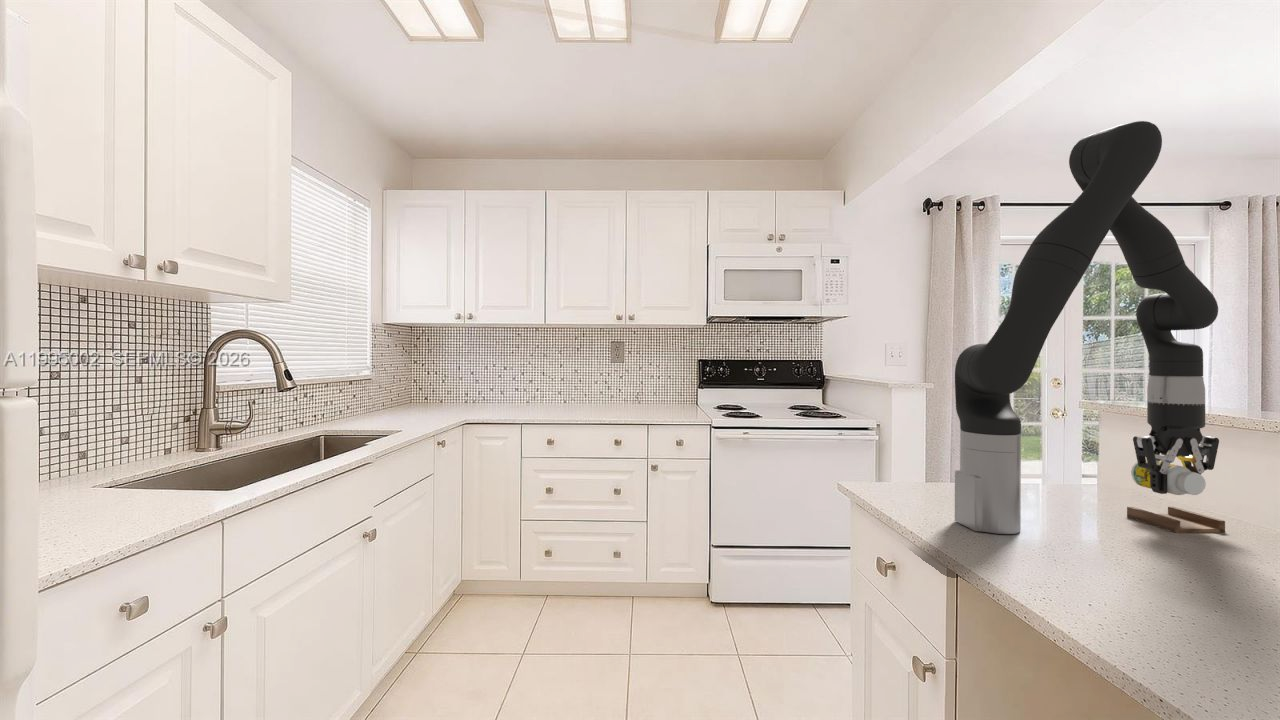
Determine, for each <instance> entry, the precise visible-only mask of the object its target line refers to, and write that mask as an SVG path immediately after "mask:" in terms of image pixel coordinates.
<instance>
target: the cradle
mask: <svg viewBox="0 0 1280 720" xmlns="http://www.w3.org/2000/svg"><path fill="white" fill-rule="evenodd" d="M1126 518H1129V519H1132V520H1135V521H1139V522H1141V523H1144V524H1147V525H1151V526H1154V527H1156V528H1161V529H1163V530H1166V531H1168V532H1171V533H1226V520H1224V519H1219V518H1215V517H1212V516H1208V515H1205V514H1201V513H1197V512H1195V511H1191V510H1186V509H1184V508H1180V507H1176V506H1167V513H1155V512H1151V511H1148V510H1144V509H1141V508H1137V507H1134V506H1126Z"/></svg>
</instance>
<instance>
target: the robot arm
mask: <svg viewBox="0 0 1280 720" xmlns="http://www.w3.org/2000/svg"><path fill="white" fill-rule="evenodd" d="M1162 137H1163V136H1162V133H1161V130H1160V129H1159V127H1158V126H1157V125H1156V124H1155V123H1152V122H1150V121H1147V120H1138V121H1137V120H1136V121H1131V122H1127V123H1126V122H1125V123H1122V124H1119V125H1115V126H1113V127H1111V128H1110V127H1109V128H1106V129H1103V130H1101V131H1098V132H1095V133H1091V134H1090V135H1087V136H1085V137H1083V138H1081V139H1080V140H1078V142H1076V143H1075V145H1074V146H1073V147H1072V149H1071V151H1070V154H1069V159H1068V167H1069V170H1070V172H1071V174H1072V177H1073V179H1074V180H1075V182H1076V184H1077V186H1079V188H1080V190H1081V191H1082V192H1081V194H1080V195H1079V196H1077V198H1076V199H1075V200H1074V201H1072V203H1071V204H1070V205H1069V206H1068V207H1067V208H1065V209H1064V210H1063V211H1062V212H1061V213H1059V214H1058V215H1057V216H1056V217H1055V218H1054V219H1053V220H1051V221H1050V222H1049V224H1047V225H1046V226H1045V227H1044V228H1043V229H1042V230H1041V231H1040V232H1039V233H1038V234H1037V236H1036V237H1035V238H1034V239H1033V241H1032V242H1031V243H1030V245H1029V247H1028V249H1027V250H1026V252H1025V254H1024V256H1023V258H1022V259H1021V262H1020V263H1019V264H1018V267H1017V269H1016V272H1015V274H1014V278H1013V283H1012V287H1011V288H1012V290H1011V298H1010V303H1009V307H1008V310H1007V312H1006V314H1005V317H1004V318H1003V320H1002V321H1001V323H1000V324H999V326H998V328H997V330H996V331H995V332H994V334H993V335H992V337H991V338H990V339H989V341H988V342H987V343H978V344H973V345H970V346H968V347H966V348H965V349H964V350H963V351H962V352H960V354H959V355H958V357H957V360H956V362H955V369H954V391H955V392H954V393H955V395H954V397H955V411H956V413H957V417H958V419H959V420H958V421H959V426H960V428H959V433H960V434H959V435H960V436H959V438H960V439H959V469H958V470H957V469H956V470H955V472H954V522H956V523H957V524H960V525H962V526H964V527H967V528H968V529H970V530H972V531H974V532H982V533H983V532H984V533H989V534H999V535H1014V534H1018V533H1020V532H1021V527H1022V525H1021V523H1022V522H1021V521H1022V517H1021V516H1022V515H1021V510H1022V508H1021V507H1022V506H1021V505H1022V503H1021V502H1022V501H1021V500H1022V498H1021V497H1022V493H1021V492H1022V491H1021V490H1022V488H1021V487H1022V483H1021V481H1022V479H1021V478H1022V474H1021V473H1022V462H1021V461H1022V459H1021V458H1022V457H1021V456H1022V453H1021V452H1022V421H1021V418H1020V417H1019V416H1018V415H1017V413H1015V411H1014V409H1013V407H1012V405H1011V399H1010V397H1011V396H1010V394H1013V393H1015V392H1017V391H1019V390H1020V389H1021V388H1022V387H1023V386H1024V385H1025V384H1026V383H1027V381H1028V379H1030V377H1031V375H1032V372H1033V371H1034V368H1035V366H1036V363H1037V361H1038V359H1039V357H1040V356H1039V355H1041V351H1042V350H1043V347H1044V345H1045V342H1046V341H1047V338H1048V335H1049V334H1050V331H1051V329H1052V328H1053V327H1054V324H1055V323H1056V321H1057V319H1058V318H1059V317H1060V314H1061V313H1062V311H1063V309H1064V308H1065V306H1066V304H1067V303H1068V301H1069V300H1070V298H1071V295H1072V294H1073V292H1074V291H1075V289H1076V287H1078V285H1079V283H1080V282H1081V280H1082V278H1083V276H1084V274H1085V273H1086V271H1087V270H1088V268H1089V266H1090V264H1091V263H1092V261H1093V259H1094V258H1095V257H1094V256H1095V255H1096V253H1097V251H1098V249H1099V247H1101V244H1102V243H1103V241H1104V239H1106V236H1107V235H1108V233H1109V232H1111V234H1112V235H1113V238H1114V239H1115V242H1116V243H1117V244H1118V246H1119V248H1120V250H1121V253H1122V255H1123V257H1124V259H1125V262H1126V265H1127V266H1128V269H1129V272H1130V273H1131V276H1132V278H1133V280H1134V282H1135V284H1136V285H1137V286H1138V287H1140V288H1143V289H1148V290H1157V291H1161V293H1155V294H1150V295H1147V296H1145V297H1144V298H1142V300H1141V301H1140V302H1139V303H1138V305H1137V307H1136V308H1137V309H1136V312H1135V315H1136V321H1137V324H1138V327H1139V329H1140V332H1141V334H1142V337H1143V338H1142V339H1143V340H1144V344H1145V346H1146V349H1147V352H1148V361H1149V362H1148V363H1149V364H1148V365H1149V367H1148V369H1149V371H1148V375H1149V376H1148V383H1147V389H1146V390H1147V391H1146V392H1147V395H1146V396H1147V400H1146V402H1147V408H1146V410H1147V414H1146V415H1147V417H1146V418H1147V420H1146V421H1147V424H1148V425H1149V426H1150V428H1151V430H1150V432H1149V434H1148V435H1145V436H1138V435H1135V436H1133V438H1132V441H1133V446H1134V450H1135V451H1134V452H1135V456H1136V462H1138V466H1139V467H1141V468H1145V469H1147V470H1149V471H1150V487H1151V491H1152V492H1154V493H1157V494H1159V495H1160V494H1161V495H1167V494H1168V493H1167V474H1165V473H1166V472H1167V470H1168V467H1169V465H1170V464H1172V463H1174V462H1175V460H1176V458H1177V459H1178V460H1179V461H1181V464H1182V466H1183V467H1185V468H1187V469H1189V470H1190V471H1191V472H1195V473H1198V474H1200V475H1202V474H1203V473H1204V472H1205V471H1207V470H1209V471H1212V470H1214V468H1215V464H1216V459H1217V454H1218V448H1219V444H1220V439H1219V438H1218V437H1213V436H1204V435H1203V434H1202V432H1201V429H1203V428H1205V427H1206V387H1205V381H1204V352H1203V349H1202V347H1201V346H1199V345H1197V344H1194V343H1188V342H1181V341H1178V340H1176V338H1175V337H1174V335H1173V333H1172V331H1187V330H1189V331H1190V330H1202V329H1205V328H1208V327H1209V326H1211V325H1213V323H1214V322H1215V321H1216V319H1217V318H1218V315H1219V305H1218V301H1217V299H1216V298H1215V296H1214V295H1213V293H1212V292H1211V291H1210V289H1209V288H1207V286H1206V285H1205V284H1204V283H1203V282H1202V281H1201V279H1200V278H1198V277H1197V276H1196V275H1195V273H1194V272H1193V271H1192V270H1191V269H1190V268H1189V267H1188V266H1187V263H1186V261H1185V259H1184V257H1183V254H1182V251H1181V249H1180V247H1179V244H1178V243H1177V240H1176V238H1175V236H1174V234H1173V233H1172V232H1171V230H1170V229H1169V228H1168V227H1167V226H1166V225H1165V224H1164V223H1163V222H1162V221H1161V220H1159V218H1157V217H1155V216H1154V215H1153V214H1152V213H1150V212H1149V211H1148V210H1147V209H1145V208H1144V207H1143V206H1142V205H1141V204H1140V203H1139V202H1138V201H1137V200H1136V199H1135V198H1134V197H1133V195H1134V194H1135V193H1136V191H1137V190H1138V189H1139V187H1140V186H1141V184H1142V183H1143V182H1144V181H1145V179H1146V178H1147V177H1148V175H1149V174H1150V172H1151V170H1152V169H1153V168H1154V166H1155V165H1156V163H1157V161H1158V160H1159V156H1160V153H1161V151H1162V145H1163V138H1162ZM1162 292H1163V293H1162ZM1205 457H1206V459H1205ZM1204 459H1205V461H1204ZM1146 460H1147V462H1146ZM1159 462H1161V463H1160V465H1158V464H1159Z"/></svg>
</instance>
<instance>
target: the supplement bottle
mask: <svg viewBox="0 0 1280 720" xmlns="http://www.w3.org/2000/svg"><path fill="white" fill-rule="evenodd" d="M1146 462H1147V459H1146ZM1160 463H1161V461H1159V464H1158V465H1160ZM1130 472H1131V473H1130V474H1131V478H1132V480H1133V482H1134V483H1135V484H1136V485H1138V486H1140V487H1142V488H1147V489H1151V487H1150V471H1149V470H1147V469H1145V468H1141V467H1139V466H1138V462H1137V461H1136V462H1135V463H1134V464H1133V466H1132V467H1131V471H1130ZM1165 474H1167V493H1166V494H1171V495H1175V496H1183V495H1186V494H1187V495H1192V496H1198V495H1200V494H1202V493H1203V492H1204V491H1205V489H1206V484H1207V483H1206V479H1205V478H1204V476H1203V475H1202V474H1201V475H1200V474H1198V473H1195V472H1191V471H1190V470H1189V469H1187V468H1185V467H1183V465H1178V464H1172V463H1170V465H1169V467H1168V470H1167V472H1166V473H1165ZM1151 490H1152V489H1151Z"/></svg>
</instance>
